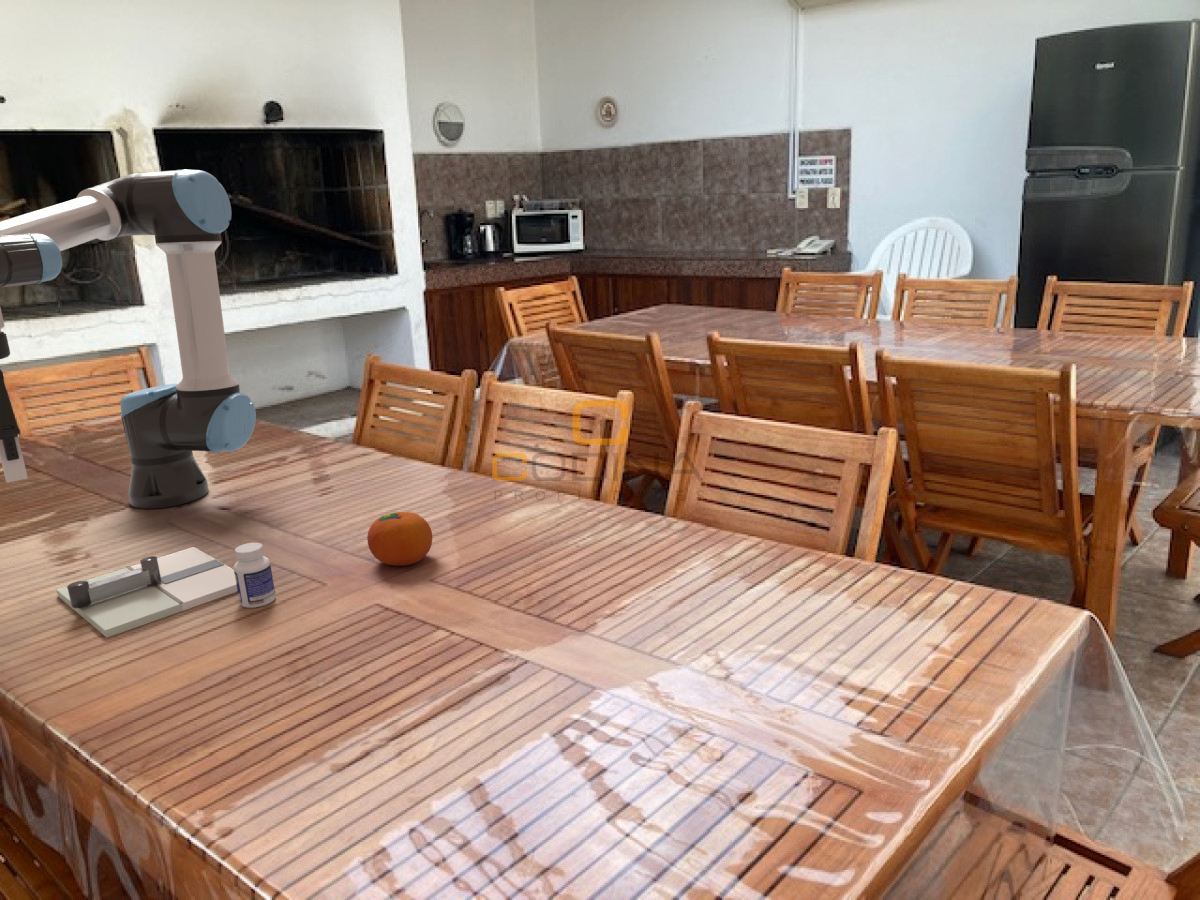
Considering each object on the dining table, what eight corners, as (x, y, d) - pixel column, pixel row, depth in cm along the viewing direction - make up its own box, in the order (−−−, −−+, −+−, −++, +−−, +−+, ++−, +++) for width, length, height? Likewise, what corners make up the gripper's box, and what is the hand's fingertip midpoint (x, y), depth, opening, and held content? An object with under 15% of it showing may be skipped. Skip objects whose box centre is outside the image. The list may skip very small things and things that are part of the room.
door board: (194, 553, 164) (193, 545, 164) (252, 586, 149) (251, 578, 149) (58, 596, 149) (56, 588, 149) (106, 637, 134) (104, 629, 134)
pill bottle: (283, 595, 145) (274, 542, 143) (261, 610, 140) (251, 555, 138) (255, 592, 147) (245, 539, 144) (232, 606, 142) (222, 552, 140)
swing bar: (157, 577, 151) (152, 554, 149) (164, 582, 149) (159, 559, 148) (69, 606, 142) (63, 582, 141) (75, 611, 140) (69, 587, 139)
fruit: (447, 553, 158) (442, 508, 156) (410, 577, 149) (404, 531, 147) (395, 546, 163) (390, 502, 160) (357, 569, 154) (350, 523, 151)
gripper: (-67, 329, 144) (-34, 461, 150) (-42, 345, 126) (-6, 494, 132) (-10, 323, 149) (19, 451, 155) (21, 337, 131) (53, 481, 137)
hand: (8, 471), depth 143 cm, fingers open, 13 cm apart
